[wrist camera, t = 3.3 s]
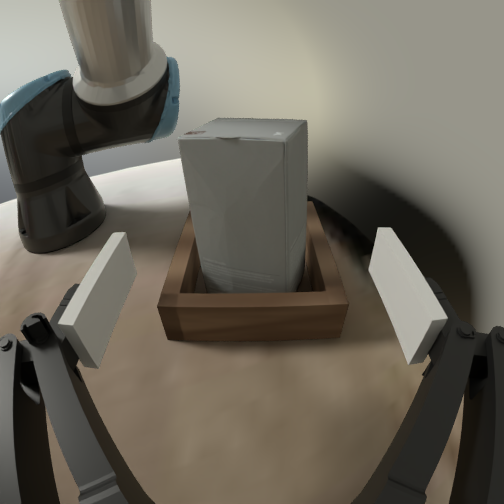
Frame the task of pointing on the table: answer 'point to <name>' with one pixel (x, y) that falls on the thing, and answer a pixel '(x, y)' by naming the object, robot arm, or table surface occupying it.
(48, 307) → the table surface
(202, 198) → the skincare box
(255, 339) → the walnut u-shaped frame
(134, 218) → the table surface
